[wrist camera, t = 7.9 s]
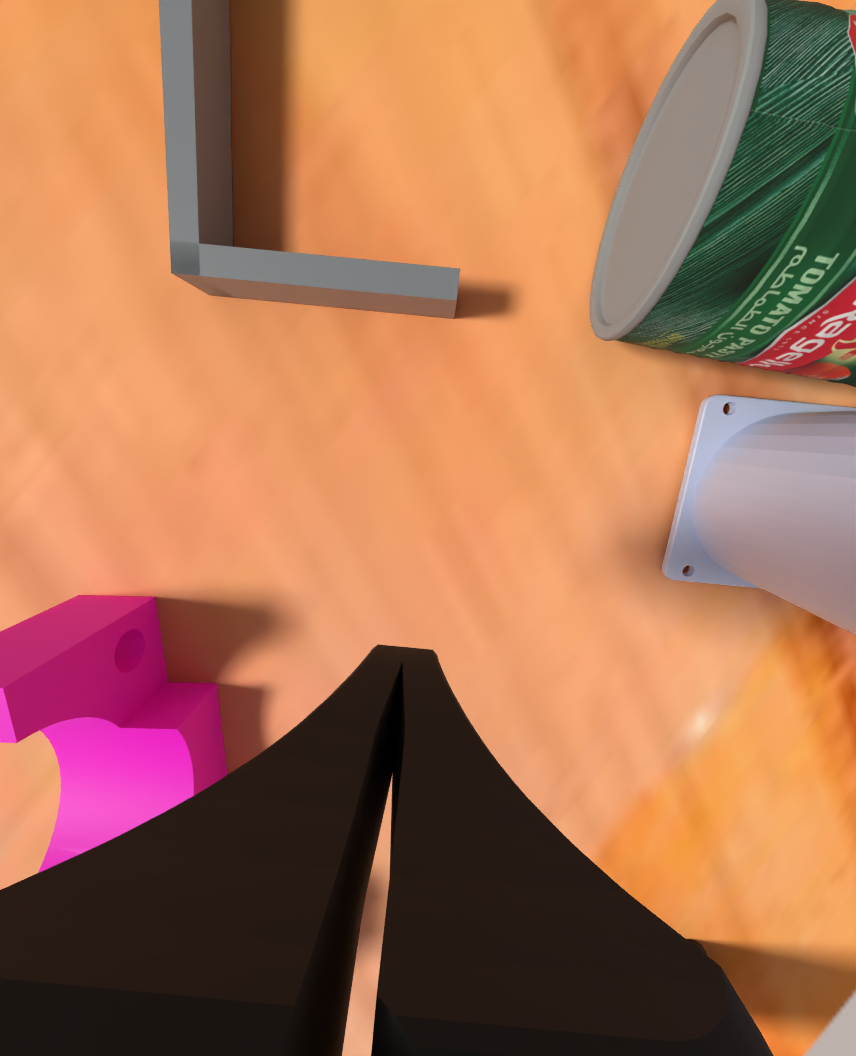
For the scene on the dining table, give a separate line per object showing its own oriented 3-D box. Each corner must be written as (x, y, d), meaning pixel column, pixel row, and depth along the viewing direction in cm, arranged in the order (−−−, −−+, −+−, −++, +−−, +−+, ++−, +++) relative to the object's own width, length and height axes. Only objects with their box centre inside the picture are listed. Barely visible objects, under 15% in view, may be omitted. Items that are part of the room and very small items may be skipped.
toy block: (237, 841, 24) (149, 1023, 17) (129, 838, 24) (-5, 1017, 17) (208, 596, 20) (81, 689, 13) (82, 593, 20) (-114, 685, 13)
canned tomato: (676, 303, 10) (1128, 389, 10) (811, -158, 8) (1367, -38, 8) (570, 356, 17) (826, 403, 18) (625, 131, 15) (911, 187, 16)
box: (499, -143, 14) (513, -266, 11) (453, 318, 17) (456, 300, 15) (196, -174, 14) (145, -303, 11) (209, 295, 17) (171, 272, 15)
